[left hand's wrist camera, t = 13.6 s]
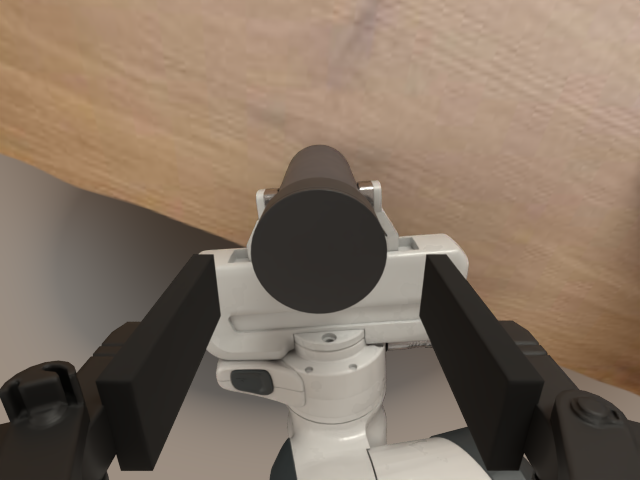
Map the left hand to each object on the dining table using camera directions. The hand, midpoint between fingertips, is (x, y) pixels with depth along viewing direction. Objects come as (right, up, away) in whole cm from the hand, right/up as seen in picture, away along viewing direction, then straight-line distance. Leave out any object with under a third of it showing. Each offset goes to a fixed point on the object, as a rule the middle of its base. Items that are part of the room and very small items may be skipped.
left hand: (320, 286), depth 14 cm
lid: (0, +1, +3) cm, 3 cm away
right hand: (0, +5, +11) cm, 12 cm away
